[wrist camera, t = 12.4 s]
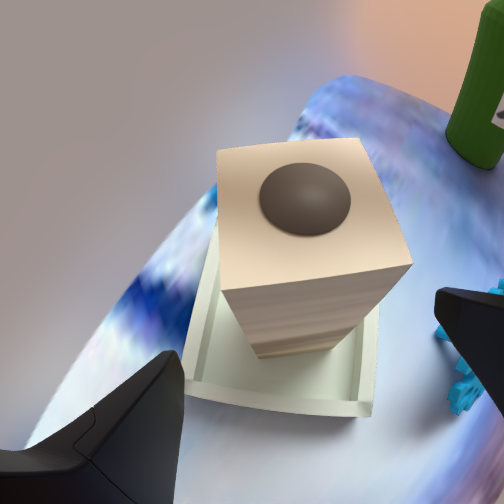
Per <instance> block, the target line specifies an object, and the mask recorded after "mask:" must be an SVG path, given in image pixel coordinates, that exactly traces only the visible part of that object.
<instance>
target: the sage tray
mask: <svg viewBox="0 0 504 504" xmlns="http://www.w3.org/2000/svg"><path fill="white" fill-rule="evenodd" d="M378 326H379V303H378V304H377V305H376V306H375V307H374V308H373V309H372V311H371V312H370V313H369V314H368V315H367V316H366V317H365V318H364V319H363V320H362V321H361V322H360V323H359V324H358V325H357V326H356V327H355V328H354V329H353V330H352V331H351V332H350V333H349V334H348V335H347V336H346V337H345V338H344V339H343V340H342V341H340V342H339V343H338V344H337V345H336V346H335V347H334V348H333V349H330V350H324V351H318V352H312V353H305V354H299V355H291V356H284V357H276V358H267V359H258V357H257V356H256V354H255V352H254V350H253V348H252V347H251V345H250V343H249V341H248V340H247V338H246V336H245V334H244V332H243V330H242V329H241V327H240V325H239V323H238V321H237V320H236V318H235V316H234V314H233V312H232V310H231V308H230V307H229V305H228V303H227V301H226V299H225V297H224V295H223V293H222V292H221V284H220V262H219V234H218V216H217V219H216V223H215V226H214V230H213V234H212V237H211V241H210V245H209V248H208V252H207V256H206V260H205V264H204V268H203V272H202V275H201V279H200V283H199V287H198V291H197V295H196V300H195V304H194V308H193V312H192V316H191V320H190V325H189V329H188V333H187V338H186V342H185V347H184V351H183V356H182V360H181V365H182V367H183V370H184V374H185V388H184V394H186V395H190V396H194V397H199V398H203V399H207V400H212V401H217V402H222V403H227V404H232V405H238V406H243V407H249V408H256V409H263V410H270V411H278V412H286V413H296V414H307V415H321V416H341V417H371V413H372V405H373V397H374V388H375V377H376V365H377V350H378Z"/></svg>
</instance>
